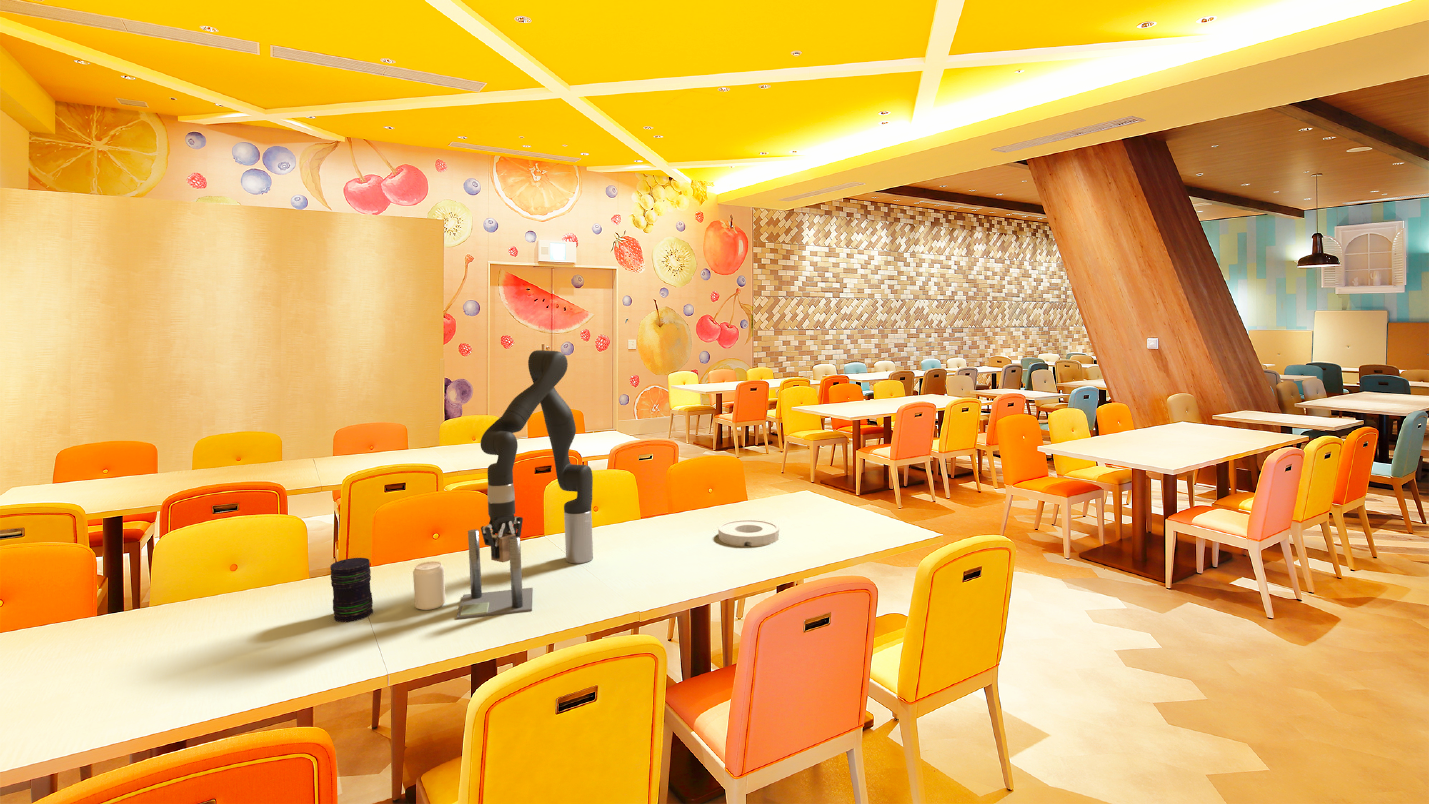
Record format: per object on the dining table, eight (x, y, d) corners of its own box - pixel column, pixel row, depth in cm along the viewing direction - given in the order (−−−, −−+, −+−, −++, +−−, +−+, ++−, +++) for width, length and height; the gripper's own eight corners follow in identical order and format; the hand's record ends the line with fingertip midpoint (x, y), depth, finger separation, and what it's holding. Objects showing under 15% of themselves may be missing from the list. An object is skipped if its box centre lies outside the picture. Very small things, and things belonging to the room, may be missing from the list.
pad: (463, 606, 193) (463, 605, 193) (488, 603, 195) (488, 602, 195) (461, 615, 187) (460, 614, 187) (486, 613, 188) (486, 611, 188)
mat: (463, 596, 202) (463, 593, 202) (532, 589, 207) (532, 586, 207) (456, 619, 186) (456, 615, 186) (531, 610, 191) (531, 607, 191)
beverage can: (451, 601, 199) (449, 561, 198) (433, 612, 191) (430, 571, 190) (428, 599, 201) (425, 559, 200) (409, 609, 193) (406, 569, 192)
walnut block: (504, 555, 202) (503, 532, 202) (516, 557, 200) (515, 534, 199) (491, 559, 198) (490, 536, 197) (503, 562, 195) (502, 538, 195)
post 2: (512, 605, 194) (509, 536, 192) (523, 603, 194) (520, 535, 193) (511, 609, 191) (508, 539, 189) (522, 607, 192) (519, 538, 190)
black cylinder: (380, 612, 192) (377, 560, 190) (347, 625, 183) (343, 571, 182) (359, 605, 197) (356, 555, 195) (326, 617, 188) (322, 565, 187)
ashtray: (750, 526, 274) (750, 516, 274) (792, 538, 256) (791, 528, 256) (706, 537, 259) (705, 527, 259) (746, 551, 242) (746, 540, 241)
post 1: (471, 595, 201) (468, 529, 200) (482, 594, 202) (479, 529, 200) (470, 599, 199) (467, 532, 197) (481, 598, 199) (478, 531, 197)
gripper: (511, 492, 205) (513, 547, 207) (472, 502, 193) (475, 560, 195) (529, 495, 201) (531, 551, 203) (490, 505, 189) (492, 565, 191)
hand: (503, 555), depth 199 cm, fingers closed on walnut block, 5 cm apart
